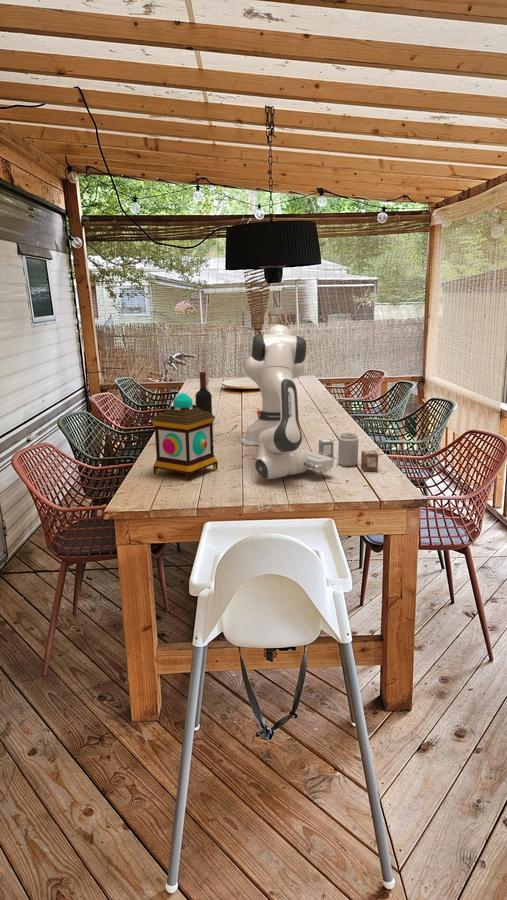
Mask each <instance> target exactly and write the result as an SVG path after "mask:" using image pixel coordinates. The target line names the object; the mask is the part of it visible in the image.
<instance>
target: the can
mask: <svg viewBox="0 0 507 900" xmlns="http://www.w3.org/2000/svg"><path fill="white" fill-rule="evenodd" d="M337 451H338V456H337V457H338V459H337V461H338V462H337V463H338V464H339V465H340V466H342V467H345V466H346V467H347V468H351V467H356V465H357V464H359V463H358V462H359V459H358V458H359V437H358V435H357V434H356V433H351V432H344V433H341V434H340V437H338V450H337Z"/></svg>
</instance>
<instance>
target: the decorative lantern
mask: <svg viewBox="0 0 507 900" xmlns="http://www.w3.org/2000/svg"><path fill="white" fill-rule="evenodd" d="M215 418H216V416H215V415H213V413H212V414H210V413H209V412H207V411H203V410H200V408H198V407H196V404H193V399H192V397H191V396H189V395H188V394H187V393H185V392H181V393H179V394H177V395H176V396H175V397H174V399H173V405H171V406H169V408H168V409H166V411H164V412H162V413H158V414H157V415H156V416H155V417H153V418H152V419H151V423H152V425H153V427H154V433H155V435H154V436H155V448H156V449H155V451H156V452H155V453H156V459H155V462H154V463H153V467H152V469H153V474H154V475H155V476H157V475H158V474H159V469H160V470H164V471H165V470H166V471H170V472H177V473H181V474H185V475H186V476H187V480H188V481H189V482H191V481H192V476H193V474H194V473H195V472H198V471H202V470H204V469H205V468H208V467H210V466H212V468H213V471H217V470H218V467H219V466H218V465H219V464H218V460H217V457H216V456H215V454H214V432H213V431H214V430H213V429H214V428H213V421H214V419H215Z"/></svg>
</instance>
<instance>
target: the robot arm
mask: <svg viewBox="0 0 507 900" xmlns="http://www.w3.org/2000/svg"><path fill="white" fill-rule="evenodd" d="M308 351H309V349H308V344H307V341H306V339H305V338H304V337H302V336H299V335H292V333H291V330H290V329H289V328H288V327H287V326H286V325H284V324H275V325H273V326H271V327H270V328H269V330H267V333H257V334H255V335H253V336H252V339H251V340H250V344H249V352H250V355H251V356H249V357H248V359H246V362H245V367H244V369H245V373H246V375H247V377H249V378H250V380H252V381H254V383H256V385H257V387H258V388H259V391H260V394H261V402H262V404H261V405H262V409H261V410H260V409H257V410H256V414H257V417H258V419H257V420H254V422H253V423H251V424H250V425H249V426H247V429H246V432H245V436H243V437H242V438H241V439H240V442H241V444H242V445H244V446H255V445H258V452H257V458H256V459H255V462H254V467H255V471H257V474H258V475H259V476H260V477H261V478H263V479H267V480H273V479H274V480H275V479H279V478H283V477H286V476H294V475H298V474H302V473H305V472H306V471H307V470H308V468H309V469H310V470H313V471H324V470H331V469H333V467H334V457H333V458H330V457H329V455H328V454H326V453H319V452H314V451H311V450H307V449H304V448H302V447H301V444H302V440H303V435H302V434H303V433H302V430H301V426H300V422H299V421H300V420H299V405H298V404H299V403H298V402H299V401H298V392H297V386H296V383H295V382H294V379H297V378H300V377H301V376H302V375H303V373H304V370H305V363H304V362H305V361H306V358H307V356H308Z"/></svg>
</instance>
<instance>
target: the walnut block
mask: <svg viewBox="0 0 507 900" xmlns="http://www.w3.org/2000/svg"><path fill="white" fill-rule="evenodd" d="M360 452H361V458H360V459H361V461H360V470H361V469H362V470H363V471H362V470H361V471H362V472H363V473H365V472H376V473H379V453H378V452H377V451H375V450H361V451H360ZM365 474H366V473H365Z"/></svg>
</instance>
